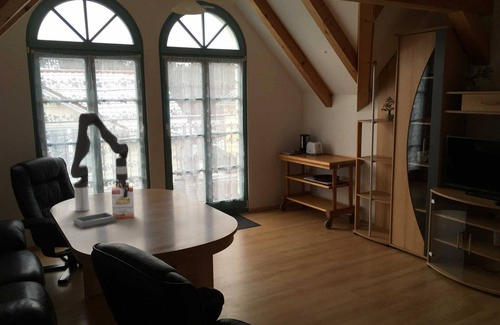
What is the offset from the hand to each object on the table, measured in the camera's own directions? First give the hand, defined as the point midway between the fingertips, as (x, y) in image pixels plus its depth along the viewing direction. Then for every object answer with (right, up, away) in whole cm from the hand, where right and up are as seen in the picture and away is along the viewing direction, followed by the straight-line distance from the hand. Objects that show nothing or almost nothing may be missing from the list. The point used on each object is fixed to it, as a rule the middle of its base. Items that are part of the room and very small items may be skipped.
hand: (122, 196), depth 281 cm
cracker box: (0, -15, +2) cm, 15 cm away
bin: (-14, -16, -12) cm, 25 cm away
